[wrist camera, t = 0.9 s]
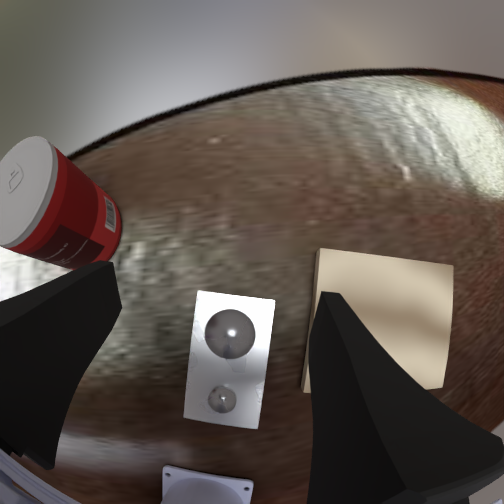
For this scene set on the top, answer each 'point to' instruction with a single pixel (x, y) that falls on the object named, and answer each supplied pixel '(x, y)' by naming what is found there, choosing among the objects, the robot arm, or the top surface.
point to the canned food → (54, 208)
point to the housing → (228, 359)
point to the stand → (392, 307)
